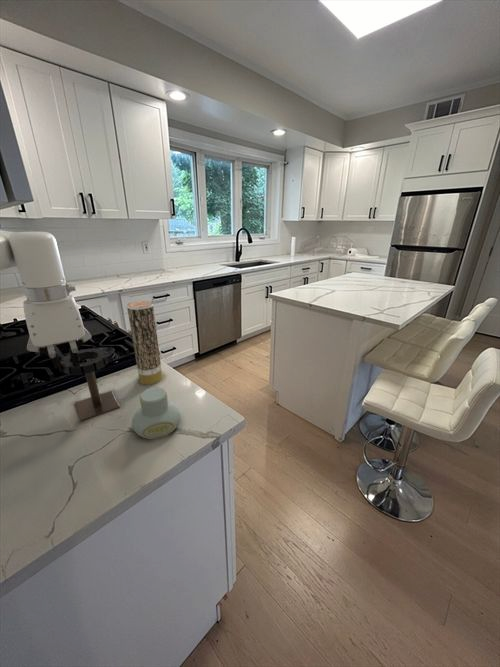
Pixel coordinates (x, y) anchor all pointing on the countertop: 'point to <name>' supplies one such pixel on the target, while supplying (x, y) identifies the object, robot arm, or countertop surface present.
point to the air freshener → (155, 415)
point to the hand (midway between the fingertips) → (67, 367)
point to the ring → (87, 367)
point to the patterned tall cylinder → (145, 341)
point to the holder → (95, 401)
